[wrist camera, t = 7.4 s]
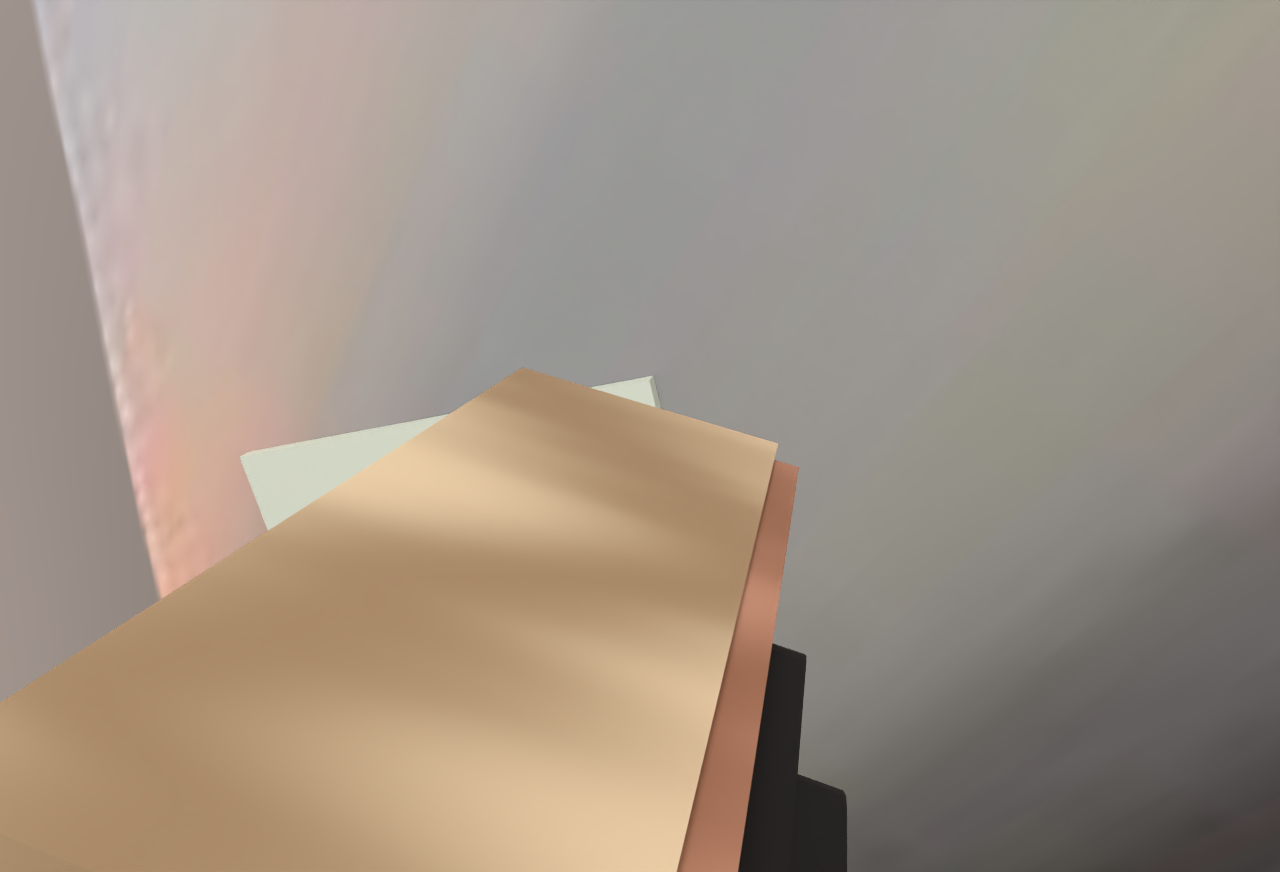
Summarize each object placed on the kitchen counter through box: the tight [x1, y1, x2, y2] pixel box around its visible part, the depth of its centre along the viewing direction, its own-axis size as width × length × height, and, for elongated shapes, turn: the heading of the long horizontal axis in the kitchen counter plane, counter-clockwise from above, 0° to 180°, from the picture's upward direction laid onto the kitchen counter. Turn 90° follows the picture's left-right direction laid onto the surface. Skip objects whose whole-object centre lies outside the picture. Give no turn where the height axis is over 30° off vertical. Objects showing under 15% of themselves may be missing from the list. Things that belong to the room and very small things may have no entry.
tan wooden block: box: [0, 368, 799, 872], centre depth 7 cm, size 3×7×7 cm, turn 167°
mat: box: [240, 376, 661, 530], centre depth 31 cm, size 16×16×1 cm
